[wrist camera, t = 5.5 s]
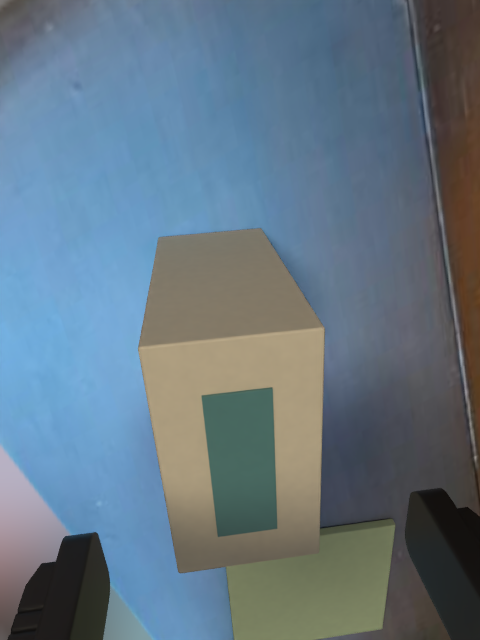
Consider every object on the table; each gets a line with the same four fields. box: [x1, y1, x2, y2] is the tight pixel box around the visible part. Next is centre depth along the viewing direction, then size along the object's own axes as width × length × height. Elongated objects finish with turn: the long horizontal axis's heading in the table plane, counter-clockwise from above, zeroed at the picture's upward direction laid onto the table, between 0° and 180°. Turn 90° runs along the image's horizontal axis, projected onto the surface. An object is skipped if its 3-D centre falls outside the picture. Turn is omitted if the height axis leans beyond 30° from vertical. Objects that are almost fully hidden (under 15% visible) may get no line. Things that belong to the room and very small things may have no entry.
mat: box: [226, 519, 395, 640], centre depth 34 cm, size 12×12×1 cm
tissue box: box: [138, 228, 325, 573], centre depth 19 cm, size 5×9×11 cm, turn 3°
